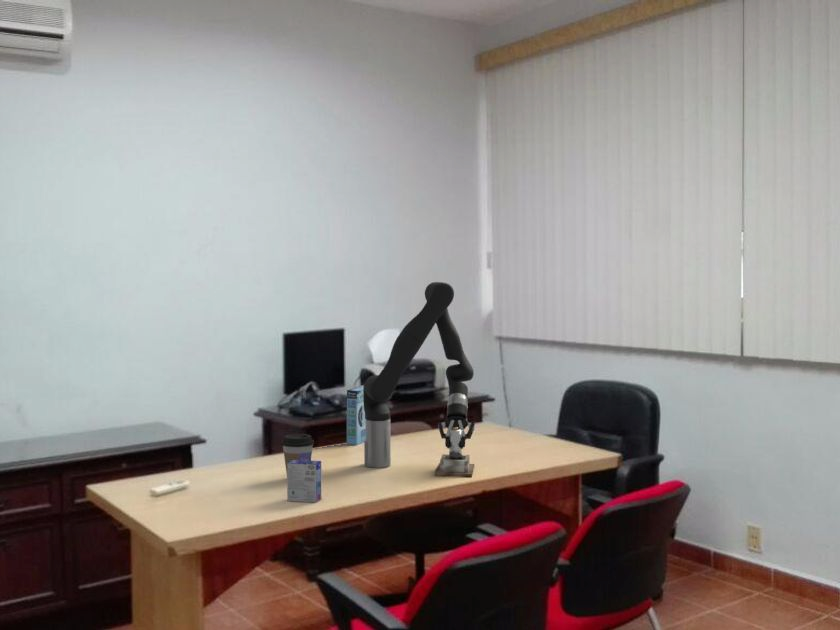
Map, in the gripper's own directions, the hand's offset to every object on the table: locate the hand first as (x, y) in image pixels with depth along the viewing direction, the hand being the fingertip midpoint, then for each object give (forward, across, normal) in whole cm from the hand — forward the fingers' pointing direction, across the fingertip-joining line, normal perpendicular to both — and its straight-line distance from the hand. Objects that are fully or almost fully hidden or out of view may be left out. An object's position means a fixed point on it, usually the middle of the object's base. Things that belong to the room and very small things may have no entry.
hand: (455, 447), depth 306 cm
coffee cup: (+18, -53, -5) cm, 56 cm away
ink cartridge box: (+36, -44, -24) cm, 62 cm away
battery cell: (+2, 0, +5) cm, 5 cm away
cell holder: (+5, 0, +8) cm, 9 cm away
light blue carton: (-31, -44, +44) cm, 70 cm away
